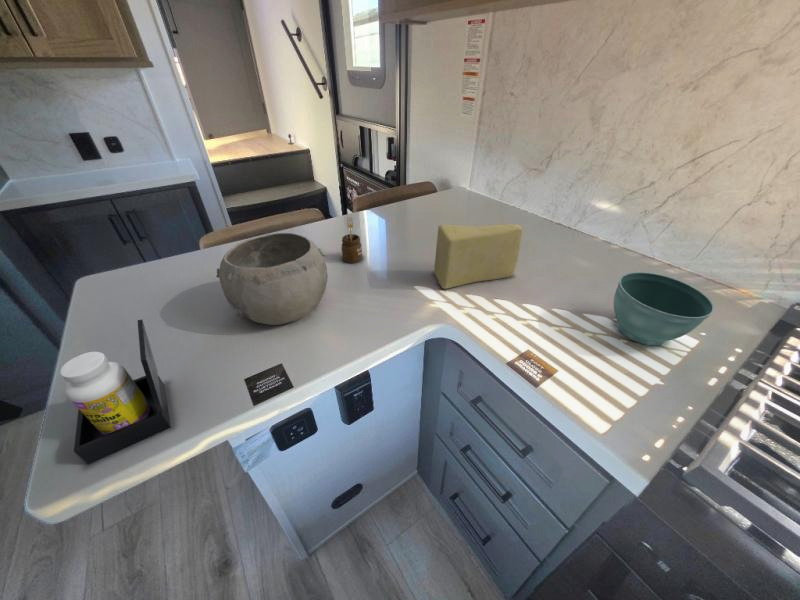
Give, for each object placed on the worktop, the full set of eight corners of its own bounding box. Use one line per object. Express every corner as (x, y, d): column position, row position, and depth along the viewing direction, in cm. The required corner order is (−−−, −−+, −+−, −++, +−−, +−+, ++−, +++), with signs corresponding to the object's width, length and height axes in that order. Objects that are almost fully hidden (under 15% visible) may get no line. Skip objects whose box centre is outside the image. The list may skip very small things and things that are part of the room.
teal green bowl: (700, 363, 64) (735, 321, 57) (614, 352, 66) (639, 311, 59) (661, 314, 77) (685, 276, 70) (590, 306, 79) (608, 268, 72)
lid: (140, 359, 42) (146, 358, 43) (137, 320, 49) (142, 319, 49) (157, 413, 48) (162, 411, 48) (152, 370, 54) (157, 369, 55)
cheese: (504, 266, 94) (516, 218, 85) (520, 284, 86) (534, 233, 77) (432, 272, 91) (437, 222, 82) (441, 290, 83) (448, 238, 74)
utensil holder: (342, 264, 93) (338, 225, 86) (342, 254, 98) (339, 217, 91) (362, 263, 94) (360, 225, 87) (362, 253, 99) (359, 216, 92)
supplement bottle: (90, 438, 48) (34, 383, 40) (120, 401, 53) (76, 346, 45) (135, 438, 48) (88, 382, 40) (161, 401, 53) (123, 346, 46)
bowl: (301, 270, 90) (292, 219, 81) (350, 305, 77) (345, 249, 68) (217, 302, 77) (195, 246, 68) (258, 351, 64) (237, 290, 55)
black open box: (88, 464, 45) (73, 451, 43) (91, 413, 52) (79, 400, 50) (170, 427, 50) (161, 413, 48) (164, 385, 57) (155, 371, 55)
